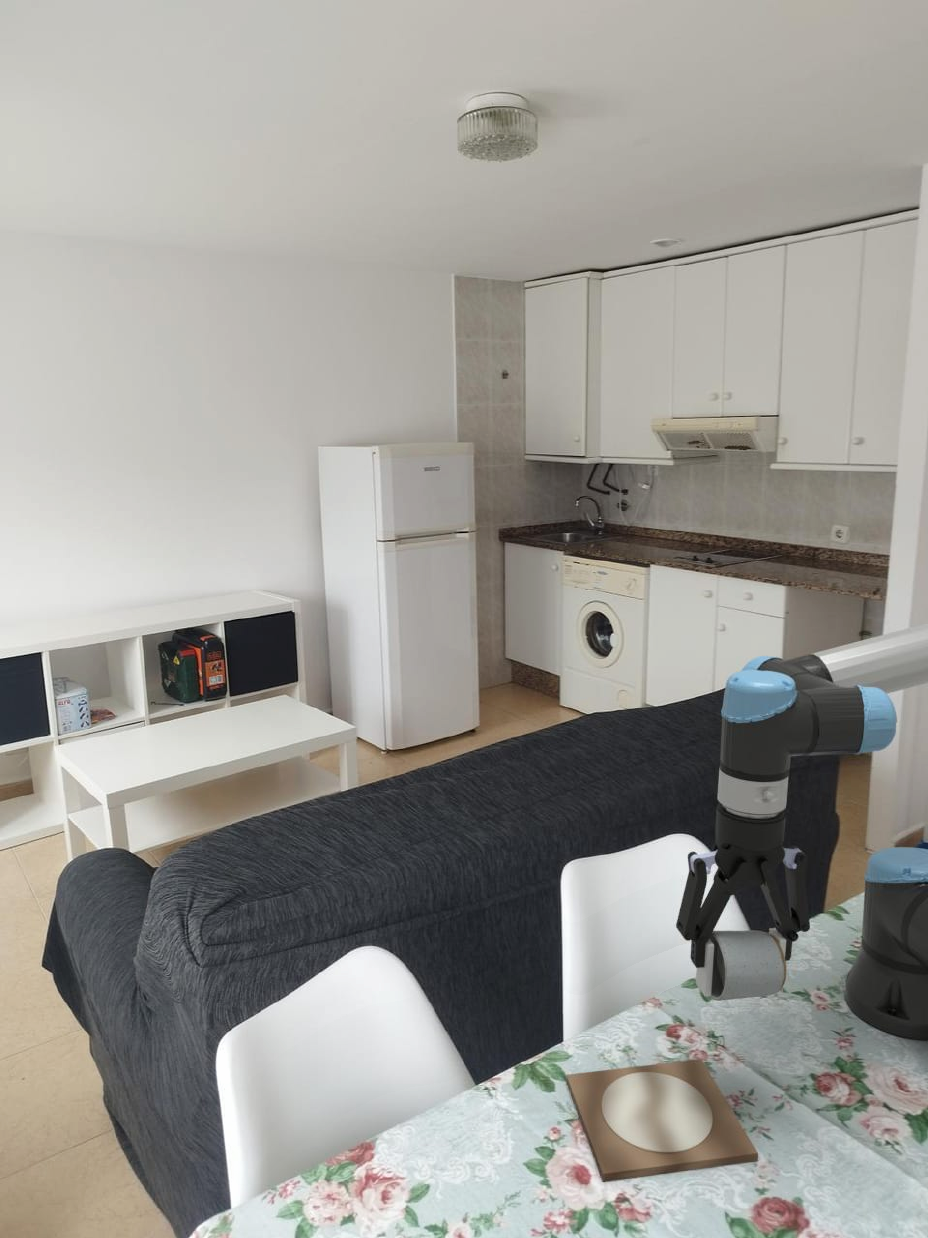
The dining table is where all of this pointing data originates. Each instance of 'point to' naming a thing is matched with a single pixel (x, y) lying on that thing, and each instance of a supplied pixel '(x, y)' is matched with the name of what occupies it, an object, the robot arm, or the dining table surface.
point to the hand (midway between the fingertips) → (738, 986)
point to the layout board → (657, 1120)
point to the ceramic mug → (746, 965)
